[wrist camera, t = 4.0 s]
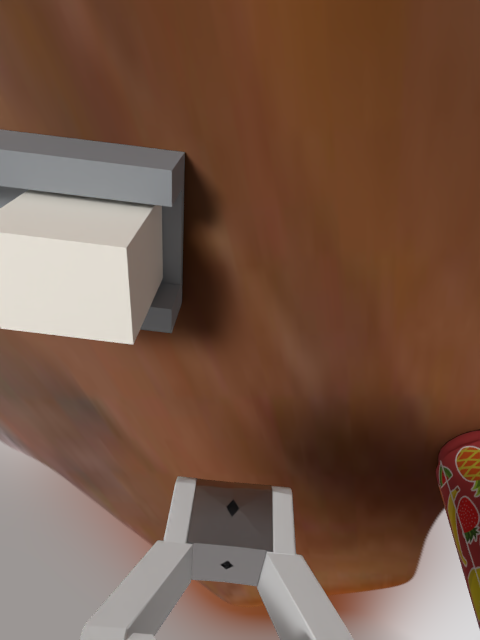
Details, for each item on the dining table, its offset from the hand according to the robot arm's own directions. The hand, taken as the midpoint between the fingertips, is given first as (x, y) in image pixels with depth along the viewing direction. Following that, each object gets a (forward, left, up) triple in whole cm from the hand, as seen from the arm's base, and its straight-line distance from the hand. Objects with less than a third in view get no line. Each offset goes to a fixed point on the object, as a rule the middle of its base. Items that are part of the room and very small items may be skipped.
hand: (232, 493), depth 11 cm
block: (+8, 0, -14) cm, 16 cm away
